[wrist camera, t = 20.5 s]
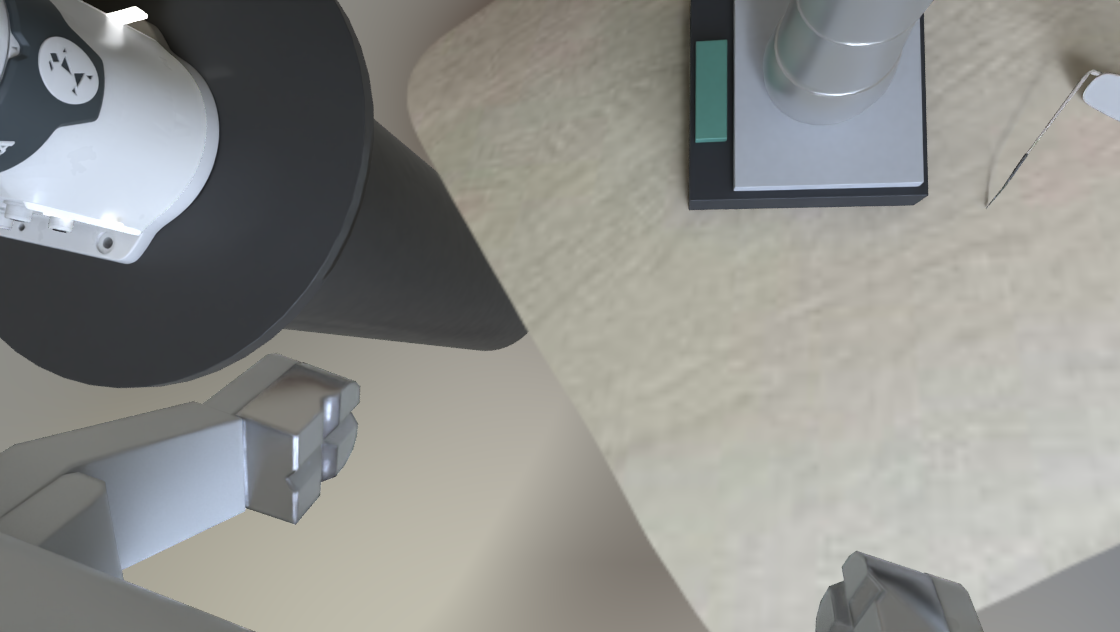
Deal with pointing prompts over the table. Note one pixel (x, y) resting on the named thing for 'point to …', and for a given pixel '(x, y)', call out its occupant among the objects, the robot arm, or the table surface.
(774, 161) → the scale
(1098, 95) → the eyeglasses
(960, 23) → the table surface
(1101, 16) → the table surface
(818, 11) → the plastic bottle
